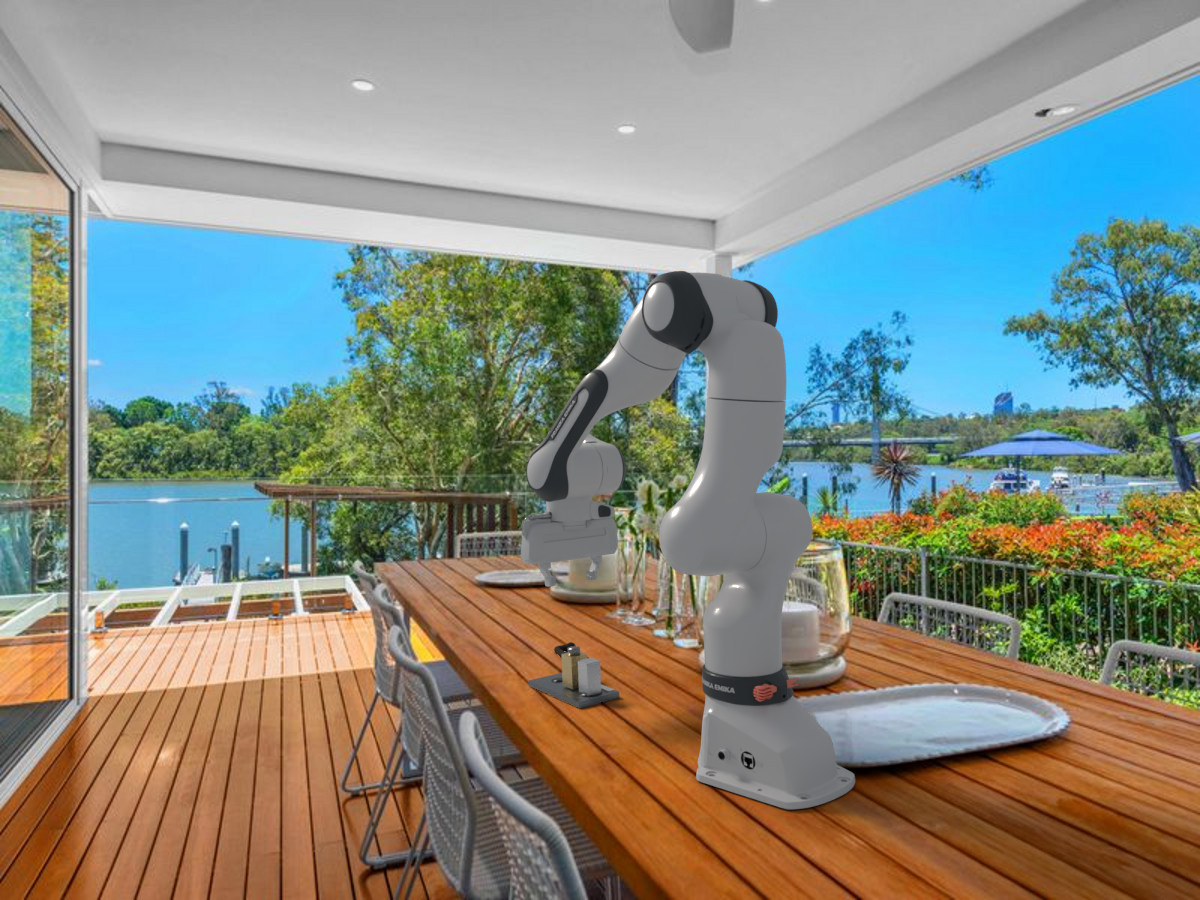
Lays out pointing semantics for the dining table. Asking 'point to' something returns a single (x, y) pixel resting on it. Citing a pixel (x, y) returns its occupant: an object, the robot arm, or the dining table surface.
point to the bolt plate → (569, 692)
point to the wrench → (563, 648)
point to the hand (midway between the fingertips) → (571, 582)
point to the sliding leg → (571, 666)
